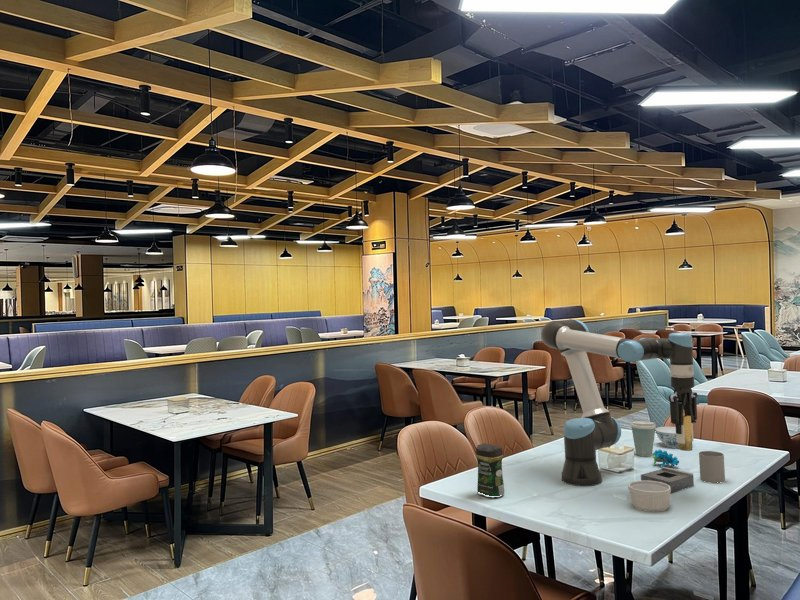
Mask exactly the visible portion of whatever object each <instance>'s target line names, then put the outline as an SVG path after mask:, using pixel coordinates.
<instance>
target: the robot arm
mask: <svg viewBox="0 0 800 600" xmlns="http://www.w3.org/2000/svg"><path fill="white" fill-rule="evenodd" d="M540 336H541V341H542V342H543V344H544V345H545V346H547V347H548V348H551V349H555V350H559V352H560V355H561V356H563V357H565V360H566V362H567V365H568V368H569V372H570V375H571V378H572V381H573V385H574V388H575V391H576V394H577V398H578V401H579V404H580V407H581V409H582V415H581V417H577V418H572V419H571V418H570V419H568V420H567V421H565V423H564V424H563V433H562V434H563V440H564V445H563V446H564V458H565V459H564V463H563V468H562V471H561V475H560V476H561V481H562V482H563V481H564V482H563V483H565V482H566V483H565V484H568V485H571V484H572V485H573V486H578V485H580V487H585V486H586V487H587V486H589V487H590V486H591V487H592V486H596V485H597V486H598V485H601V484H602V483H603V478H602V472H600V468H599V465H598V463H597V451H598V450H601V449H604V448H605V449H606V448H609V447H610V448H611V447H612V446H613V445H616V444H617V443H618V442H619V440H620V438H621V436H622V426H621V424H620V423H619V422H620V421H618V420H617V419H615V417H613V416H612V415H611V412H610V410H608V409H607V408H606V407H605V406H604V402H603V400H602V398H601V394H600V391H599V387H598V385H597V381H596V379H595V376H594V372H593V369H592V366H591V363H590V360H589V357H588V354H587V353H591V354H597V355H601V356H607V357H611V358H616V359H617V358H618V359H621V360H622V361H624V362H626V363H635V362H640V361H648V360H654V359H655V360H656V359H659V360H660V359H661V360H663V359H664V360H669V367H670V368H669V371H670V386H671V387H672V388H673V394H672V395H668V401H669V410H670V423H671V424H673V425H675V427H676V440H677V443H682V444H685V433H684V425H682V423H683V414H685V415H691V427H692V443H693V442H694V424H696V423H697V420H698V407H697V405H698V403H697V402H698V401H697V398H698V392H695V391H693V390H692V388H693V389H694V388H695V377H694V375H695V374H694V344H693V336H692V334H691V333H689V332H672V333H669V334H668V338H664V337H663V338H660V337H658V338H657V337H641V338H639V339H631V338H624V337H618V336H613V335H607V334H606V335H605V334H601V333H600V334H599V333H593V332H590V331H589V328H588V326H587V325H586V324H585V323H584V322H582V321H581V320H579V319H572V318H571V319H562V320H551V321H549V322H547V323H546V324H545V325H544V326H543V327H542V329H541V332H540Z"/></svg>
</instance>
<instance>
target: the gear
mask: <svg viewBox="0 0 800 600" xmlns="http://www.w3.org/2000/svg"><path fill="white" fill-rule="evenodd" d="M673 454H674V453H668V451H666V450H662V449H658V450H657V449H655V450H654V452H653V454H652V455H653V456H652V458H653V464H652V466H653V465H654V466H653V467H655V466H656V464H657V462H658V463H661V465H660V468H661V467H665V466H666V465H668V466H669V465H671V466H672V465H673V466H672V467H674V466H678V464H680V460H679V459H678V457H677V456H674V455H673ZM673 456H674V457H673Z"/></svg>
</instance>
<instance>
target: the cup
mask: <svg viewBox="0 0 800 600" xmlns="http://www.w3.org/2000/svg"><path fill="white" fill-rule="evenodd" d="M724 456H725V455H724V453H722V452H719V451H714V450H713V451H712V450H703V451H699V452H698V458H699V462H698V463H699V478H700V479H699V480H700V481H702V482H704V481H705V483H708V482H711V483H710V484H721V483H720V482H724V481H725V482H726V471H725V457H724ZM717 482H718V483H717ZM725 482H724V483H725Z"/></svg>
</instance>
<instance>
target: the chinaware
mask: <svg viewBox="0 0 800 600" xmlns="http://www.w3.org/2000/svg"><path fill="white" fill-rule="evenodd" d="M655 434H656V436H657V438H658V439H659V440H660V441H661V442H662V443H663V444H664V445H665V447H667V446H668V447H667V448H671V447H679V443H677V440H676V426H659V427H656V428H655Z"/></svg>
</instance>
